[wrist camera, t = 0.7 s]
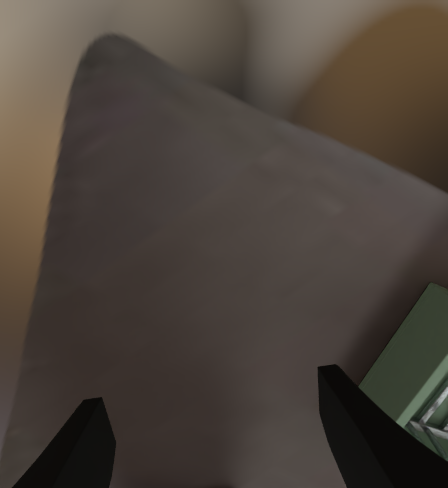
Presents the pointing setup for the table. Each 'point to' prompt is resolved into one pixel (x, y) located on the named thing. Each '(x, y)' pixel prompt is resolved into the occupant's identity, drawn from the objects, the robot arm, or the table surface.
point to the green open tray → (414, 364)
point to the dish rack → (431, 429)
